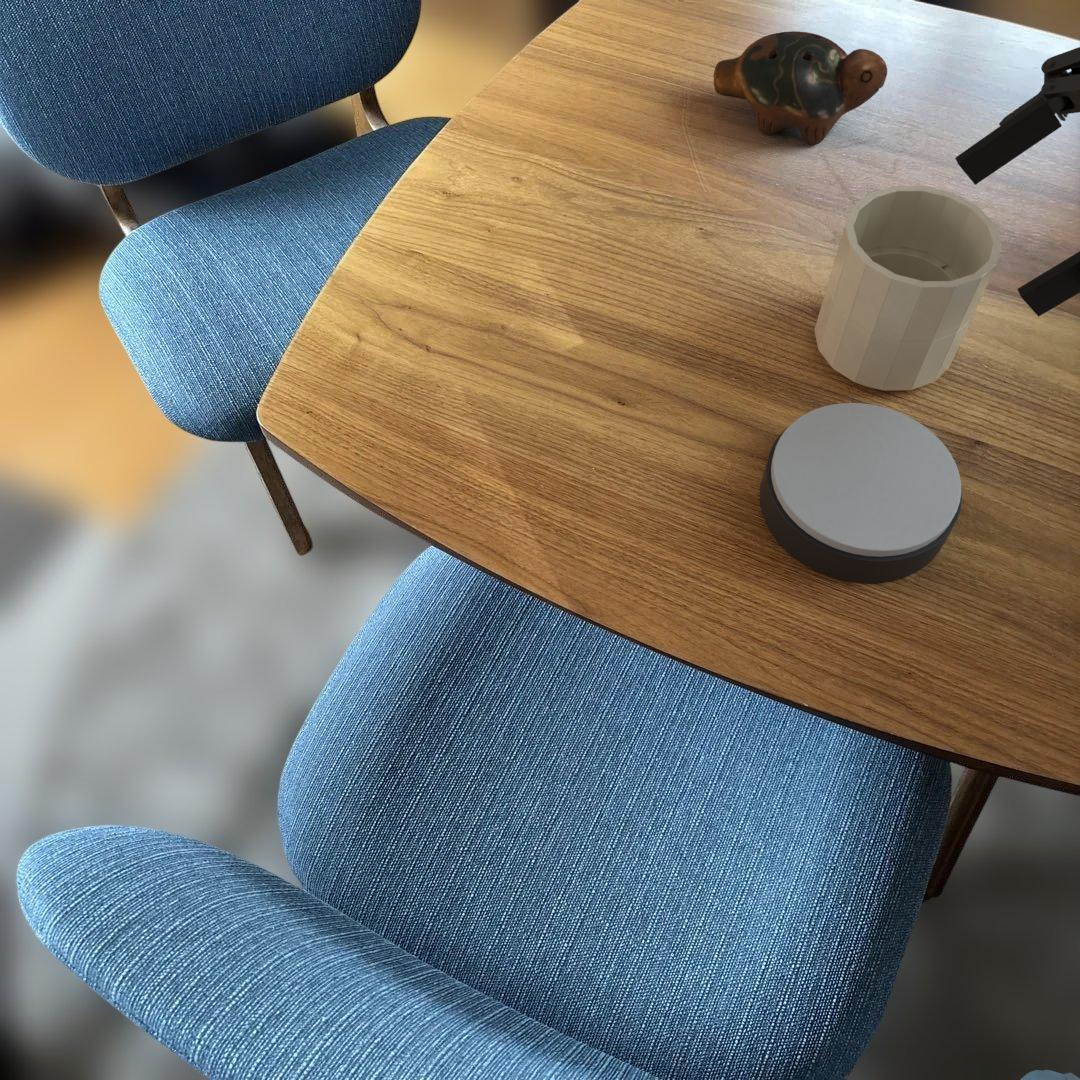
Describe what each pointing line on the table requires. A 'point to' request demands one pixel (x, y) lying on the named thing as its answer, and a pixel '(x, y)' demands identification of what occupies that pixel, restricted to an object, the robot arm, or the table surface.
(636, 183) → the table surface
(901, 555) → the scale
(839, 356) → the faceted beige cup
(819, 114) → the decorative turtle
